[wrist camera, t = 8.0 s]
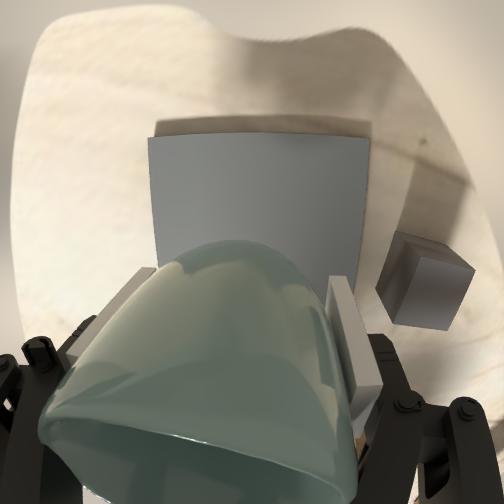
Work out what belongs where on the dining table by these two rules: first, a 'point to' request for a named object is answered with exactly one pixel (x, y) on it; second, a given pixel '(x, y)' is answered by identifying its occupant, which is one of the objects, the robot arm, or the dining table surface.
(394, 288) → the charcoal block front
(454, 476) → the robot arm
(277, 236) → the slate board
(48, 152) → the dining table surface
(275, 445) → the cup
